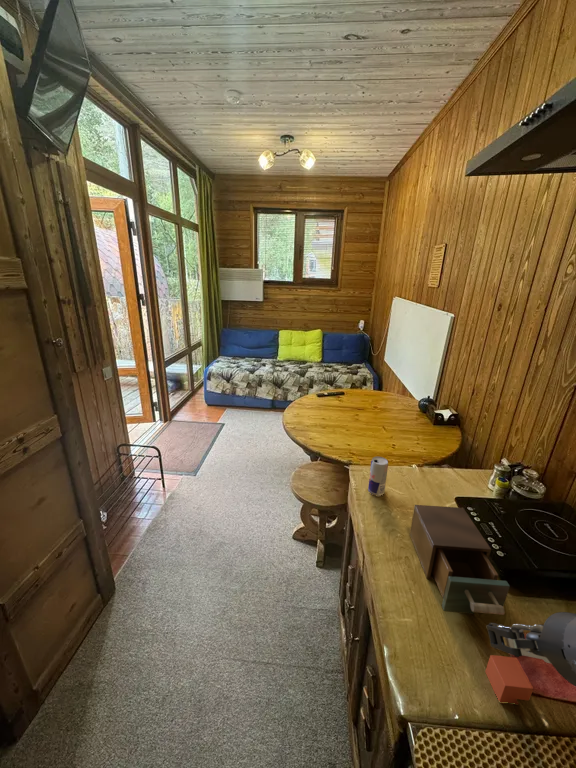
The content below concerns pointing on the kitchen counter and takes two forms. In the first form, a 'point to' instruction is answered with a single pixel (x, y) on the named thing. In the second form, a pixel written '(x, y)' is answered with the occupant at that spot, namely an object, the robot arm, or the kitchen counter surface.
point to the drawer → (468, 582)
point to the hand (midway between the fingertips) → (521, 633)
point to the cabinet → (443, 533)
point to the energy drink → (378, 476)
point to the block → (508, 679)
